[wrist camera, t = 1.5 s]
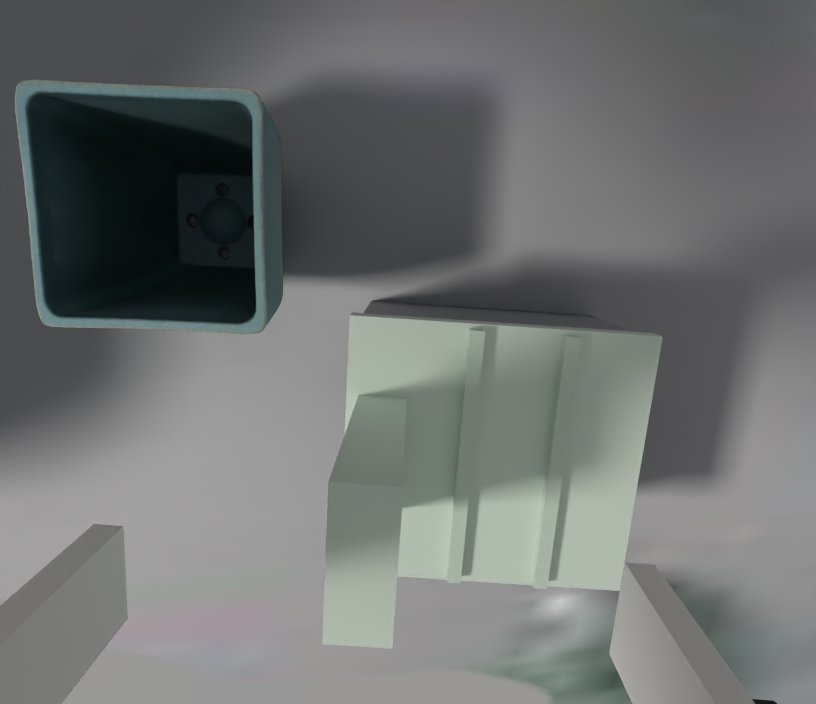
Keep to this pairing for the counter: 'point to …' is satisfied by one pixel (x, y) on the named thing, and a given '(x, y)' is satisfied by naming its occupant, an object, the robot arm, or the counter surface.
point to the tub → (487, 315)
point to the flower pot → (151, 205)
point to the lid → (481, 461)
